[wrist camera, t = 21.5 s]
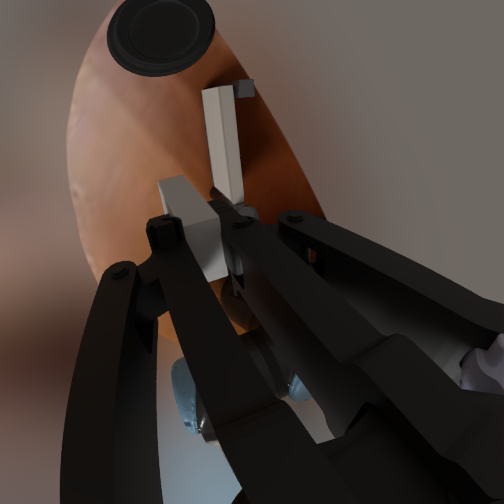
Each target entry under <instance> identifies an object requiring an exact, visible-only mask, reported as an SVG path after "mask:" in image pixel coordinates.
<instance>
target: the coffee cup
mask: <svg viewBox="0 0 504 504" xmlns="http://www.w3.org/2000/svg"><path fill="white" fill-rule="evenodd" d="M214 33H215V18H214V14H213V12H212V9H211V7H210V6H209V4H208V3H207V2H206V1H205V0H126V1H124V2H123V3H122V4H121V5H120V6H119V8H118V9H117V10H116V12H115V13H114V15H113V17H112V19H111V21H110V23H109V26H108V30H107V44H108V48H109V51H110V53H111V55H112V57H113V58H114V60H115V61H116V62H117V63H118V64H119V65H120V66H122V67H123V68H124V69H126V70H128V71H130V72H132V73H135V74H138V75H142V76H148V77H161V76H167V75H172V74H175V73H178V72H180V71H183V70H185V69H187V68H188V67H190V66H192V65H193V64H194V63H196V62H197V61H198V60H199V59H200V58H201V57H202V56H203V55H204V54H205V52H206V51H207V49H208V48H209V46H210V44H211V42H212V39H213V37H214Z"/></svg>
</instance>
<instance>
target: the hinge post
mask: <svg viewBox="0 0 504 504" xmlns="http://www.w3.org/2000/svg"><path fill="white" fill-rule="evenodd" d="M210 196H211V198H212V199H213V200H216V199H221V200H224V201H226V202H227V203H229V204H230V206H232V207H233V208H234V209H235V210H236V211H237V212H238V213H239V214H240V215H241V216H251V217H254V218H256V219H257V220H258V219H259V215H258V212H257V210H256V209H254V208H253V207H252V206H250V205H244V204H243V203H242V202H240V203H236V204H233V203H232V202H231V200H229V199H228V198H227V197H226V196H225V195H224V194H223V193H222V192H220V191H219V190H218V189H217V188H216V187H215V186H214V187H213V188H212V189H211V190H210Z"/></svg>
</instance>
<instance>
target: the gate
mask: <svg viewBox="0 0 504 504" xmlns="http://www.w3.org/2000/svg"><path fill="white" fill-rule="evenodd" d="M202 97H203V105H204V113H205V121H206V129H207V136H208V144H209V151H210V159H211V166H212V173H213V180H214V186H215V187H216V188H217V189H218V190H219V191H220V192H222V193H223V194H224V195H225V196H226V197H227V198H228V199H229V200H231V202H232V203H233V204H236V203H240V202H244V192H243V182H242V173H241V163H240V154H239V144H238V134H237V124H236V115H235V105H234V95H233V85H230V86H220V87H215V88H210V89H206V90H202Z"/></svg>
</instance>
